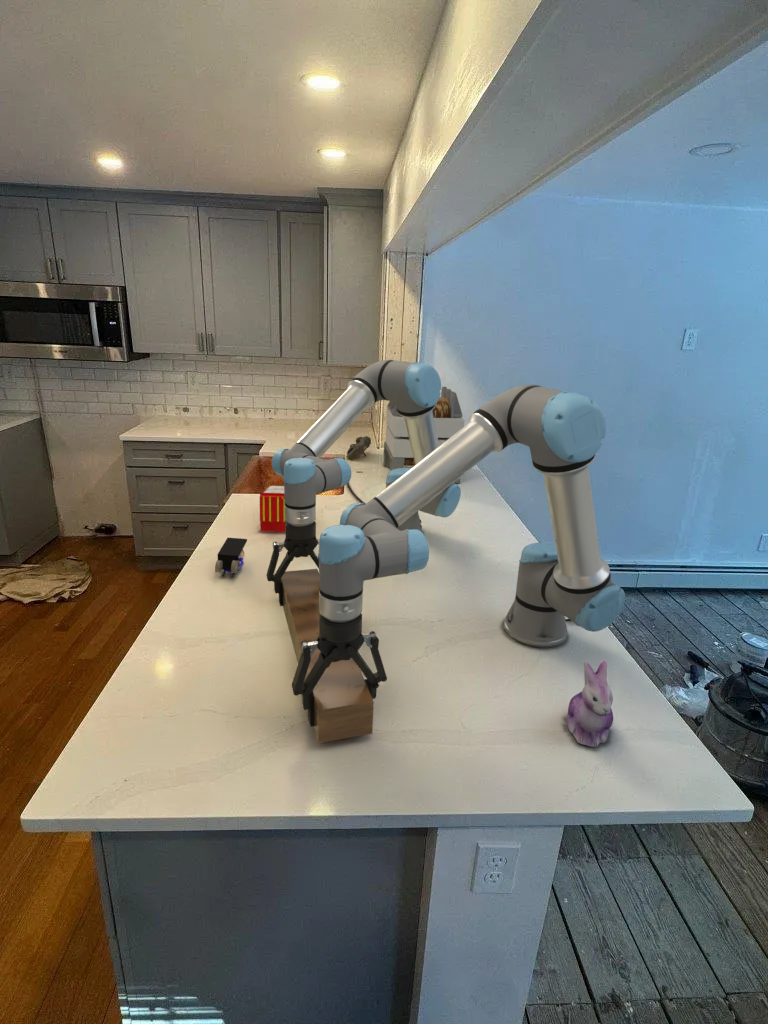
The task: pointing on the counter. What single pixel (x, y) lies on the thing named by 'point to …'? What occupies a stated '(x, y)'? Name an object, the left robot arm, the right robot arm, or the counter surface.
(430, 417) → the left robot arm
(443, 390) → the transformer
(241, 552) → the figurine character
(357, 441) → the fossil
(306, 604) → the wide beam
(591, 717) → the figurine
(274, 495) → the toy
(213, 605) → the counter surface
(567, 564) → the right robot arm
